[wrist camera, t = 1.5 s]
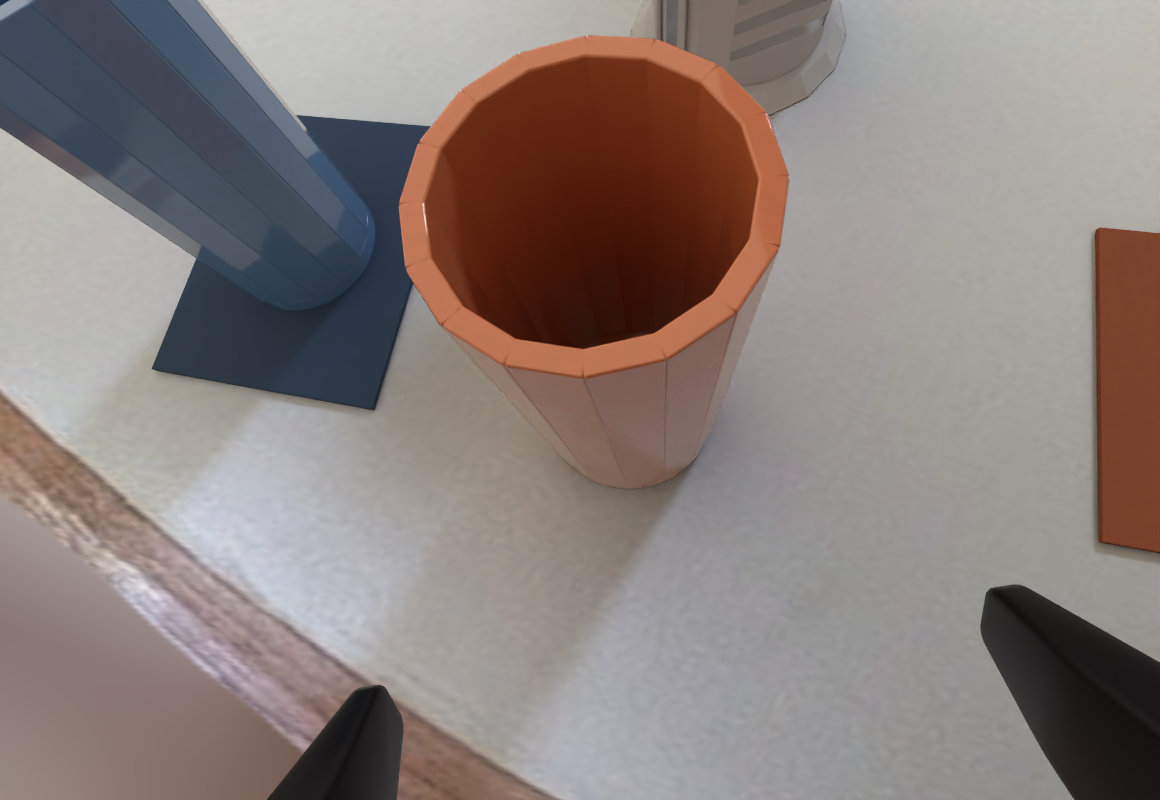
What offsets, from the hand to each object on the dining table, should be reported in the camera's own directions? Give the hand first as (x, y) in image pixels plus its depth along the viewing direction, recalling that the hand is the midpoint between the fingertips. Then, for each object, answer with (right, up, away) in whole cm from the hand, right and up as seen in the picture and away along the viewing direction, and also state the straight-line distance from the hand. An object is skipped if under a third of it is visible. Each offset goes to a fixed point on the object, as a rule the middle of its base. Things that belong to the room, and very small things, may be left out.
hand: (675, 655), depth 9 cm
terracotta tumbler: (+1, +4, +15) cm, 15 cm away
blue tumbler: (-14, +11, +18) cm, 26 cm away
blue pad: (-14, +11, +19) cm, 26 cm away
